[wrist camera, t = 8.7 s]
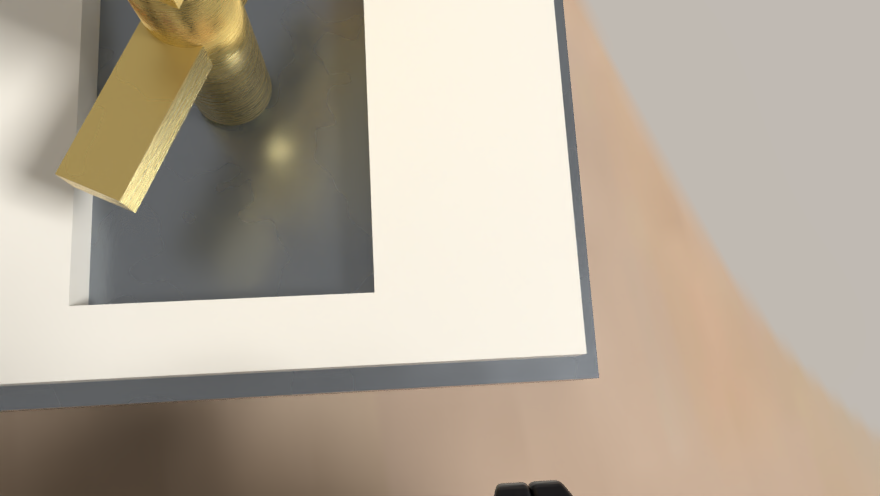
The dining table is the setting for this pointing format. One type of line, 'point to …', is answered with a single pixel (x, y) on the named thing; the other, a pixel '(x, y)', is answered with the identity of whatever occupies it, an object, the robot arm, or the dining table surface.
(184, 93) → the key
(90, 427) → the dining table surface
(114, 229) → the grey flat block
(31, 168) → the cover
